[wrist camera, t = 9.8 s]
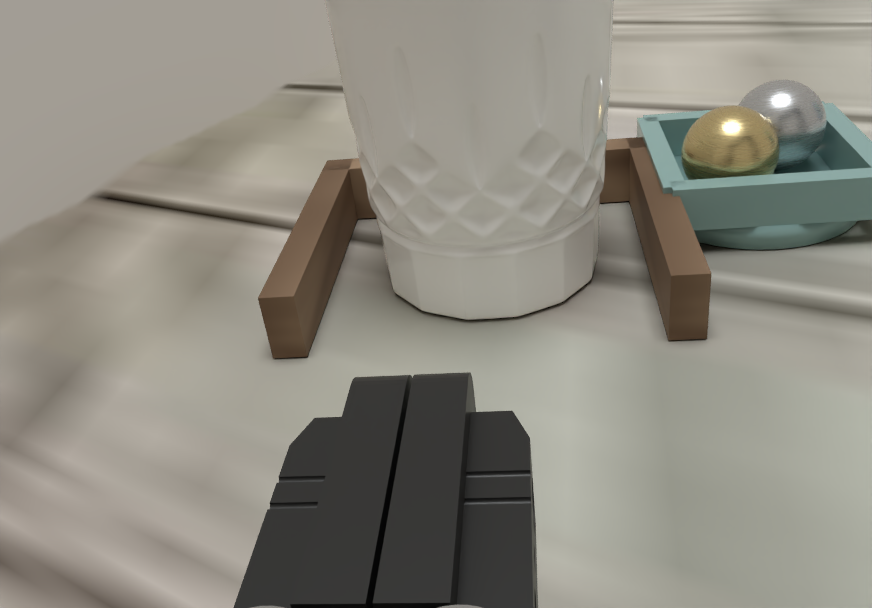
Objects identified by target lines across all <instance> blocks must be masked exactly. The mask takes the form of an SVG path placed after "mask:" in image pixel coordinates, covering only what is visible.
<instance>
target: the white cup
mask: <svg viewBox="0 0 872 608" xmlns="http://www.w3.org/2000/svg"><path fill="white" fill-rule="evenodd" d="M613 3H614V0H325V5H326V10H327V15H328V20H329V25H330V28H331V32H332V37H333V41H334V46H335V51H336V56H337V61H338V65H339V70H340V75H341V80H342V85H343V90H344V95H345V100H346V106H347V111H348V115H349V119H350V122H351V125H352V128H353V130H354V133H355V137H356V144H357V151H358V157H359V162H360V165H361V169H362V172H363V175H364V178H365V181H366V186H367V193H368V199H369V203H370V206H371V208H372V210H373V211H374V213H375V214H376V217H377V223H378V226H379V228H380V232H381V237H382V242H383V248H384V253H385V258H386V262H387V267H388V271H389V275H390V278H391V282H392V286H393V290H394V292H395V293H396V294H397V295H399V296H400V297H402V298H404V299H405V300H407V301H408V302H410V303H411V304H413V305H414V306H416V307H417V308H419V309H420V310H422V311H425V312H429V313H434V314H439V315H444V316H449V317H455V318H460V319H465V320H473V319H494V318H506V317H518V316H522V315H525V314H528V313H531V312H535V311H538V310H541V309H544V308H547V307H550V306H553V305H556V304H559V303H561V302H563V301H565V300H566V299H567V298H569V297H570V296H571V295H572V294H574V293H575V292H576V291H578V290H579V289H580V288H581V287H583V286H584V285H585V284H587V283H588V282H589V281H590V280H591V279H592V275H593V271H594V267H595V263H596V259H597V255H598V239H599V206H600V193H601V192H602V189H603V186H604V176H605V153H606V145H607V128H608V103H609V97H610V81H611V55H612V30H613Z"/></svg>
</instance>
